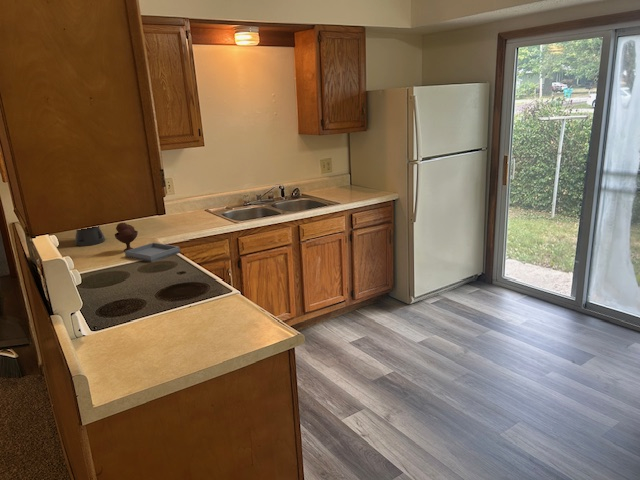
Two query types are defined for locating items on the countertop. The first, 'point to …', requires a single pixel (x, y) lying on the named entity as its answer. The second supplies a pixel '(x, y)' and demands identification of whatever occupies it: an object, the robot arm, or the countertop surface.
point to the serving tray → (152, 252)
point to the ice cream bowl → (126, 234)
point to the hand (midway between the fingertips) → (121, 201)
